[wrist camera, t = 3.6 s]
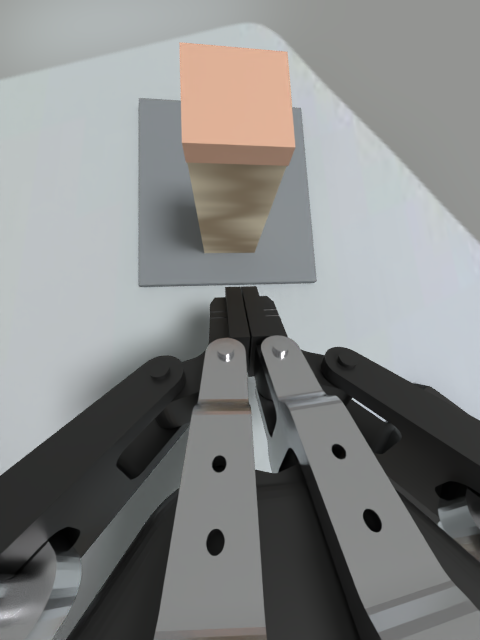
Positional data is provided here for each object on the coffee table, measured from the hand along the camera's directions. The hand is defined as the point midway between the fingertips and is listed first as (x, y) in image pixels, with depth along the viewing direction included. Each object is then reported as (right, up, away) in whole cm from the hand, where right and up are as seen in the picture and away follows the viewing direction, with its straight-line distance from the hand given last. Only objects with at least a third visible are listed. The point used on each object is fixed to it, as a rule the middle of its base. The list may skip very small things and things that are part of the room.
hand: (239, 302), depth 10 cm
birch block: (-1, +6, +6) cm, 9 cm away
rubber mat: (-1, +10, +7) cm, 12 cm away
